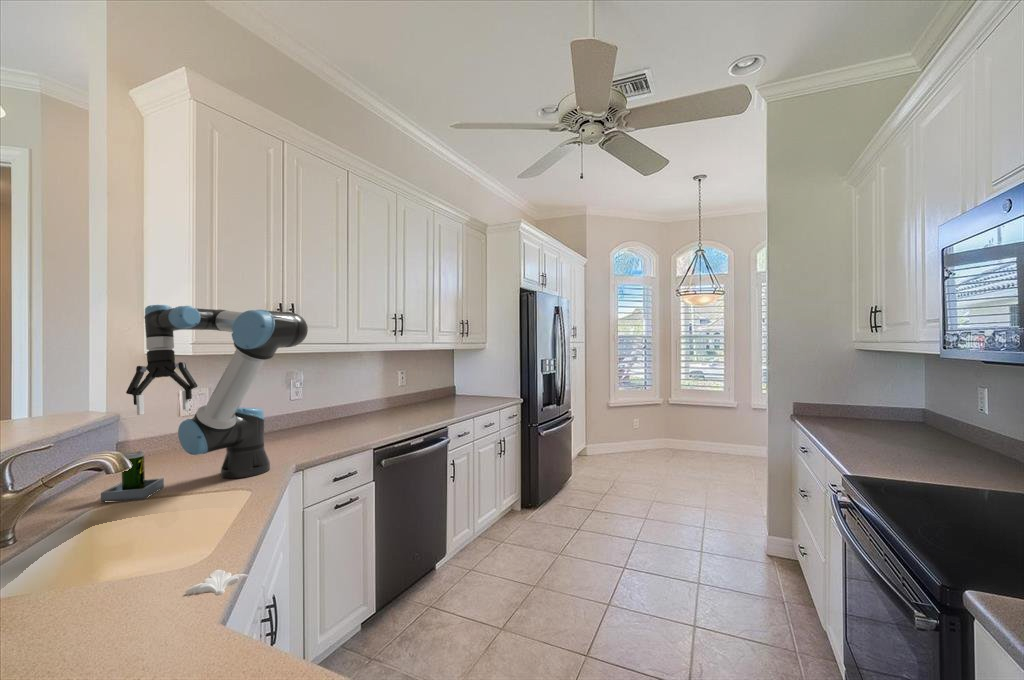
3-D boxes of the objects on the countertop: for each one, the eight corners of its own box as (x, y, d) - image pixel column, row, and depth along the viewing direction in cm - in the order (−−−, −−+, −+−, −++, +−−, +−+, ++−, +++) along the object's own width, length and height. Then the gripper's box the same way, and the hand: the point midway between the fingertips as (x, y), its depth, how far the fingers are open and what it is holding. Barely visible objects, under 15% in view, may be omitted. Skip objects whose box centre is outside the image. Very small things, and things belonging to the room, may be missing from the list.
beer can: (120, 496, 133) (119, 456, 133) (123, 491, 138) (122, 452, 138) (143, 493, 136) (143, 453, 136) (146, 488, 141) (145, 450, 141)
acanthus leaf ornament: (185, 598, 82) (184, 588, 82) (212, 578, 89) (212, 568, 89) (224, 598, 82) (224, 588, 82) (248, 578, 88) (248, 568, 88)
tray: (163, 487, 144) (163, 478, 144) (144, 499, 133) (144, 489, 133) (123, 490, 141) (123, 481, 141) (100, 503, 130) (100, 492, 130)
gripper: (206, 347, 160) (209, 406, 159) (125, 354, 155) (128, 415, 153) (196, 346, 153) (199, 408, 152) (111, 352, 148) (114, 417, 146)
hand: (163, 412), depth 152 cm, fingers open, 13 cm apart
